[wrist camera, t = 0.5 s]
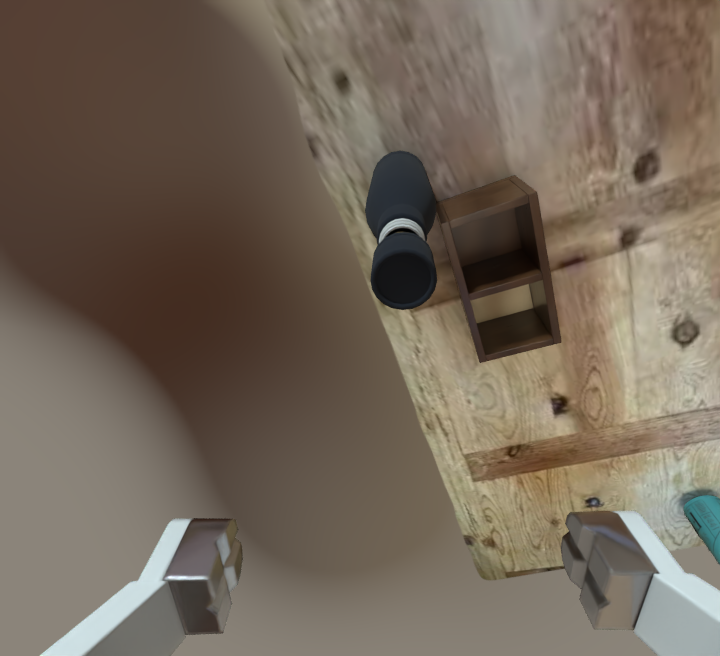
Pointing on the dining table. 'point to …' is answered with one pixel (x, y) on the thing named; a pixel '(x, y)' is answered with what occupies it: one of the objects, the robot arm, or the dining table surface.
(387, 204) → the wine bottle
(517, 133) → the dining table surface
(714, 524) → the beverage bottle
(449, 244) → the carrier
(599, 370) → the dining table surface
